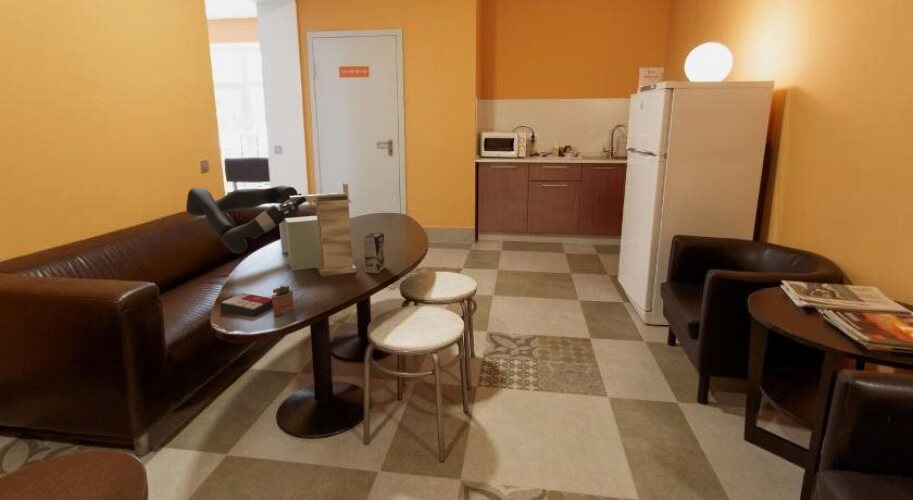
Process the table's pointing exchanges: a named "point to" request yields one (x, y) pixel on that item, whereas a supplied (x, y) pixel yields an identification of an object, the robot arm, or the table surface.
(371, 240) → the coffee box
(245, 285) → the table surface
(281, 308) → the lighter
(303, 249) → the upright cream box
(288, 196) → the robot arm
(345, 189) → the hook bar
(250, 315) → the red and beige box
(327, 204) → the tall stand
